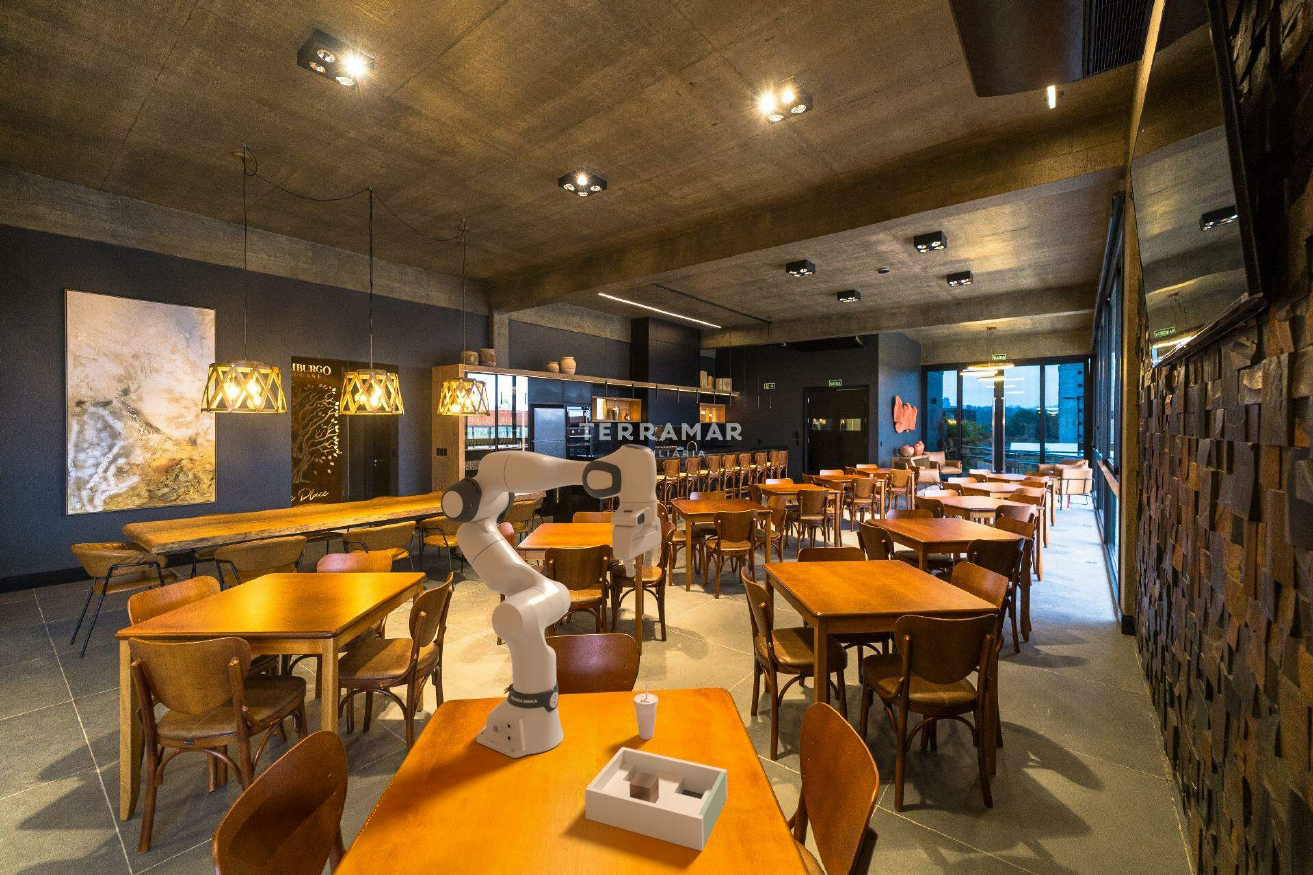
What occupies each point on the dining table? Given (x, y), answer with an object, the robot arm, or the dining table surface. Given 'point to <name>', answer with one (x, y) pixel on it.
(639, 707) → the smoothie
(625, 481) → the robot arm
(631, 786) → the walnut block
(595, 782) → the box
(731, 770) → the dining table surface
